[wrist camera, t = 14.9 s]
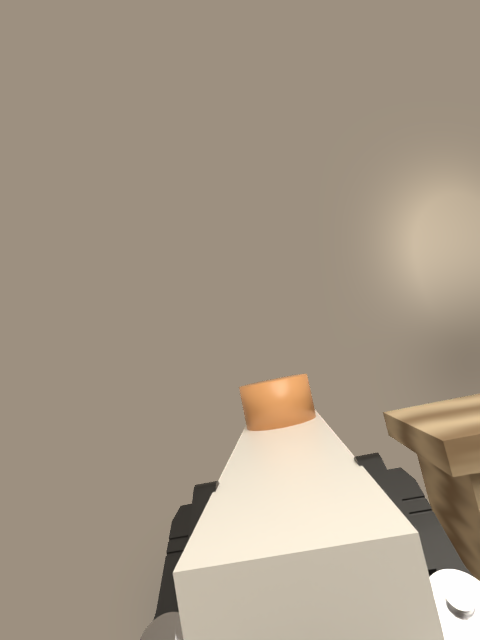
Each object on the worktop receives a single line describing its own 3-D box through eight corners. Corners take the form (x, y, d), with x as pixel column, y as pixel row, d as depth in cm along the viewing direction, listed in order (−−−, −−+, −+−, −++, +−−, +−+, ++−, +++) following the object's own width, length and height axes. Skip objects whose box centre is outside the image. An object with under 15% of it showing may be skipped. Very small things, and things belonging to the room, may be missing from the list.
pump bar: (484, 798, 6) (384, 393, 7) (213, 828, 6) (151, 438, 7) (324, 463, 26) (303, 371, 27) (261, 474, 26) (243, 383, 27)
